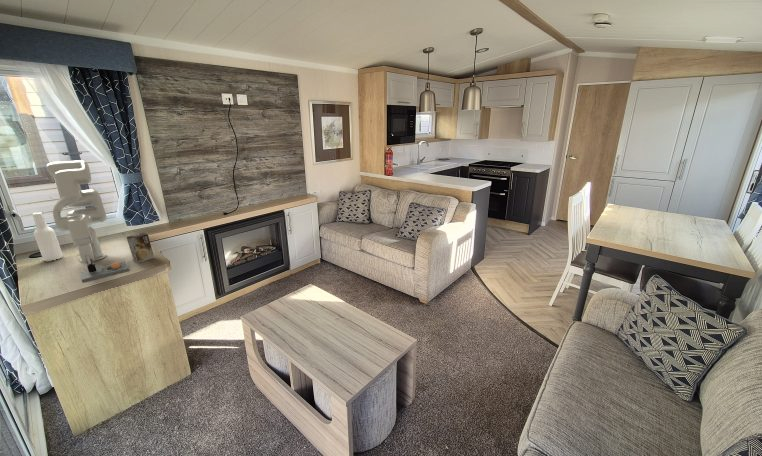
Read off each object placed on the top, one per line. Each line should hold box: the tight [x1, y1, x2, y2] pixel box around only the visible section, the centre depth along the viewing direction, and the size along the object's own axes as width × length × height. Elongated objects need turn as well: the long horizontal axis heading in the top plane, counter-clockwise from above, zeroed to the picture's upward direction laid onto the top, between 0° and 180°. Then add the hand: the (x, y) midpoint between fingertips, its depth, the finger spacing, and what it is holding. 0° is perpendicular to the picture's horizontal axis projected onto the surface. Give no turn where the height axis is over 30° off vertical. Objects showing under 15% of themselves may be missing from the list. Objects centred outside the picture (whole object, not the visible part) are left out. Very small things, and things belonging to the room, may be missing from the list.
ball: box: [111, 261, 121, 270], centre depth 181 cm, size 4×4×4 cm
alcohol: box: [32, 211, 64, 262], centre depth 193 cm, size 9×9×30 cm
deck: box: [80, 260, 130, 283], centre depth 179 cm, size 20×14×2 cm
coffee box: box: [126, 232, 155, 264], centre depth 193 cm, size 9×6×16 cm
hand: (92, 271), depth 175 cm, fingers closed
